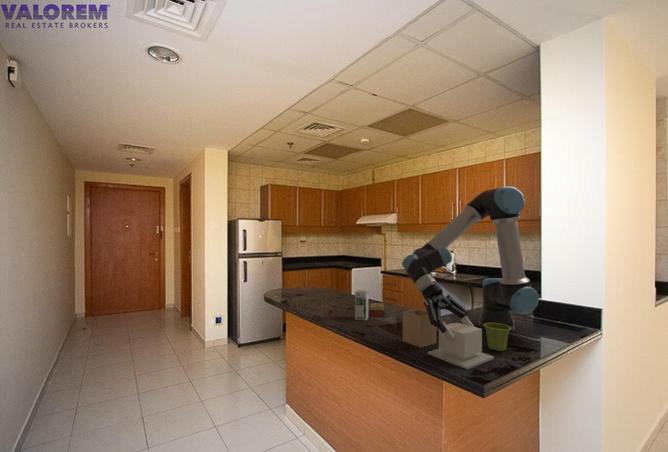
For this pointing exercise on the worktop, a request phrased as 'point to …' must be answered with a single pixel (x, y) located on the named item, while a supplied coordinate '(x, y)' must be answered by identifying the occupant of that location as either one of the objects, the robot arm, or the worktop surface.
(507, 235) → the robot arm
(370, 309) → the carton
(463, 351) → the off-white cube block
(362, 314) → the syrup box
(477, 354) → the board
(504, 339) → the plant pot
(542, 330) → the worktop surface
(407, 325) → the brown open box
